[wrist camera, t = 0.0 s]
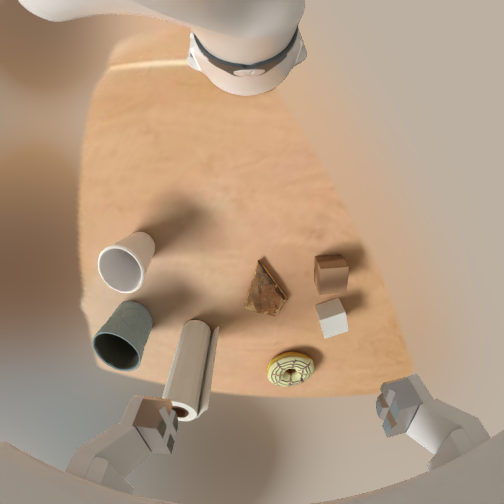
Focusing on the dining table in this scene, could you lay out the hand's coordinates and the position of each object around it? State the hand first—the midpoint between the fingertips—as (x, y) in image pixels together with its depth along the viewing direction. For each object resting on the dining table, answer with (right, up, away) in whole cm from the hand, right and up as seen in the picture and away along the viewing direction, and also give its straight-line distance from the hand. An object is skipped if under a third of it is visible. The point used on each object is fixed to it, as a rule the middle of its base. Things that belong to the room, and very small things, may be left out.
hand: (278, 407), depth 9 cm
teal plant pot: (-26, -8, +46) cm, 54 cm away
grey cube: (+15, -6, +45) cm, 48 cm away
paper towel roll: (-12, -11, +47) cm, 50 cm away
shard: (0, -1, +44) cm, 44 cm away
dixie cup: (-21, +7, +40) cm, 45 cm away
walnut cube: (+13, +3, +41) cm, 43 cm away
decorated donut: (+8, -20, +52) cm, 56 cm away
